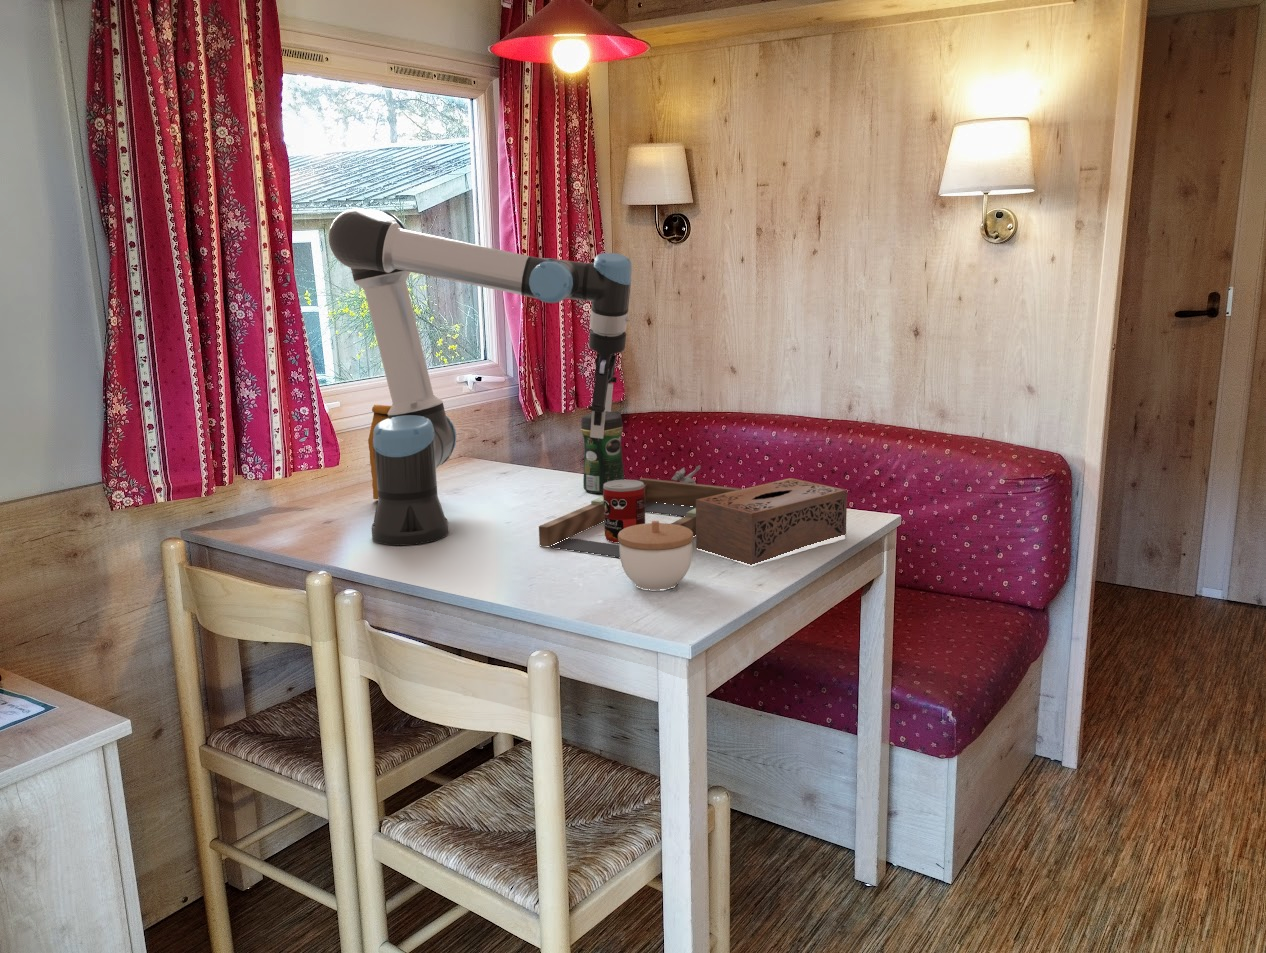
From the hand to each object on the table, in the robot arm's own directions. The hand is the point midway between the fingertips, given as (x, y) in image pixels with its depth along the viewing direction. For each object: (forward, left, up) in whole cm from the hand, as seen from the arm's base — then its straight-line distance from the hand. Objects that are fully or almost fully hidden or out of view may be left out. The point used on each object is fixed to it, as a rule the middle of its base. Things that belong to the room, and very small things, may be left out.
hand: (600, 423), depth 223 cm
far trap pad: (+5, -16, -19) cm, 25 cm away
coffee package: (-13, +46, -19) cm, 51 cm away
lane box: (-10, -16, -19) cm, 27 cm away
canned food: (-18, -16, -19) cm, 31 cm away
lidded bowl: (-40, -35, -19) cm, 57 cm away
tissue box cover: (-10, -44, -19) cm, 49 cm away
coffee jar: (+15, +9, -19) cm, 26 cm away
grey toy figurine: (+19, -12, -19) cm, 29 cm away
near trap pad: (-27, -16, -19) cm, 37 cm away
